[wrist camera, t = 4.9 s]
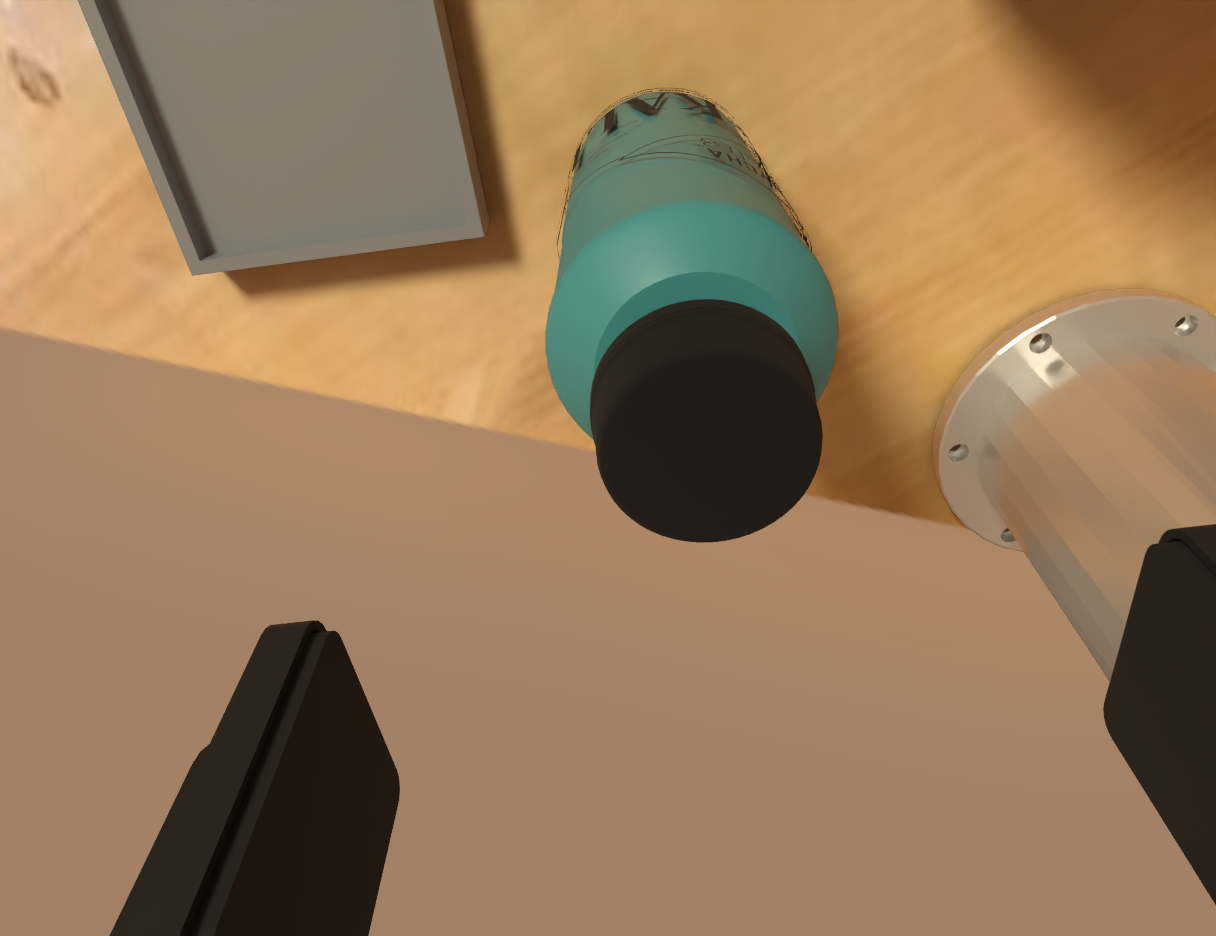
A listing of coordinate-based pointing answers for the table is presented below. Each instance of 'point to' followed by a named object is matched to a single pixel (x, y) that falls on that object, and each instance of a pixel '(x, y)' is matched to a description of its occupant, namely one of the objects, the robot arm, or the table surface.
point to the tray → (295, 124)
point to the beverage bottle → (689, 323)
